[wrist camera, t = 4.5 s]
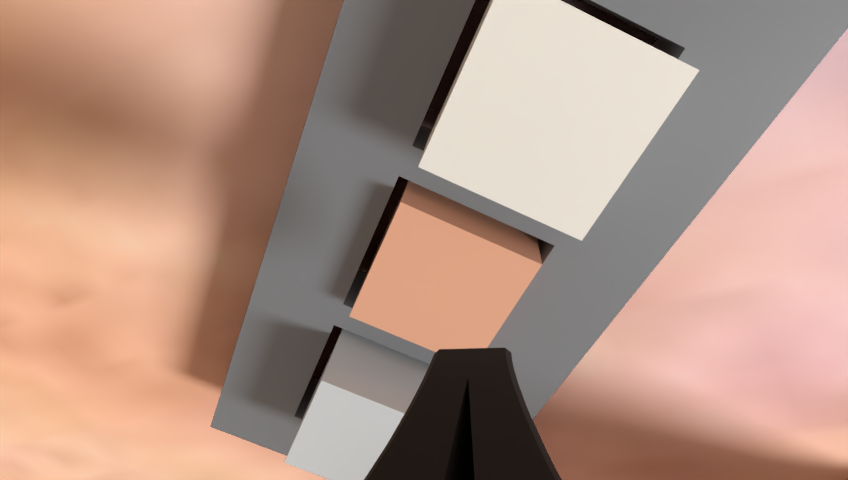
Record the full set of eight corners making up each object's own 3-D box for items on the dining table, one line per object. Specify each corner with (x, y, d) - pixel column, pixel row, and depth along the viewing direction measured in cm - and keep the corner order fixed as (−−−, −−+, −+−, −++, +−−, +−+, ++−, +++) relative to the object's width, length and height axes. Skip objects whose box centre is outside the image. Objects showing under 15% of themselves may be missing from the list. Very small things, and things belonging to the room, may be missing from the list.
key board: (811, -3, 12) (869, 1, 10) (455, 473, 21) (453, 518, 19) (430, -207, 11) (419, -243, 9) (234, 387, 20) (210, 426, 18)
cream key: (658, 52, 11) (699, 70, 9) (565, 197, 13) (581, 240, 11) (501, -26, 11) (505, -28, 9) (429, 134, 13) (417, 167, 11)
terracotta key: (533, 222, 15) (542, 264, 13) (475, 317, 17) (473, 367, 15) (413, 168, 15) (400, 202, 12) (367, 271, 16) (349, 316, 14)
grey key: (455, 371, 16) (450, 431, 14) (409, 442, 18) (398, 506, 16) (343, 325, 16) (321, 380, 14) (308, 403, 18) (284, 462, 16)
